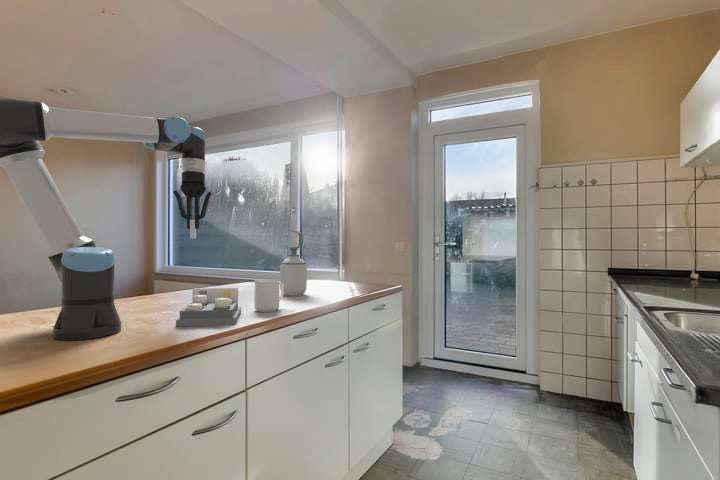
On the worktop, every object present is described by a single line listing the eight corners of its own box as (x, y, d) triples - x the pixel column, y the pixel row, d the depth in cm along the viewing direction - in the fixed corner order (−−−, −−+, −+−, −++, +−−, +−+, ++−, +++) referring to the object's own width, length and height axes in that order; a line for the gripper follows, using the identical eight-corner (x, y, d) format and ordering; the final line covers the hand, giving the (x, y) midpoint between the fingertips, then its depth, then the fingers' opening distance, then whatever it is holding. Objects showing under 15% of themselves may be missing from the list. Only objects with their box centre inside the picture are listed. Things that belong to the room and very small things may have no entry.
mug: (264, 313, 132) (264, 282, 132) (249, 310, 137) (249, 280, 137) (290, 308, 141) (290, 279, 141) (275, 306, 147) (275, 277, 147)
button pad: (175, 326, 111) (176, 296, 111) (189, 314, 129) (189, 288, 129) (235, 324, 115) (235, 294, 115) (241, 312, 133) (241, 287, 133)
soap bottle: (285, 292, 183) (285, 229, 183) (309, 293, 182) (310, 229, 182) (276, 296, 171) (276, 228, 171) (302, 297, 169) (302, 228, 169)
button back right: (217, 310, 123) (217, 300, 123) (219, 307, 127) (219, 298, 127) (231, 309, 124) (231, 300, 124) (232, 307, 128) (232, 298, 128)
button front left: (185, 315, 113) (185, 305, 113) (188, 313, 117) (188, 303, 117) (200, 315, 114) (200, 305, 114) (203, 312, 118) (203, 303, 118)
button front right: (213, 309, 115) (213, 300, 115) (215, 307, 119) (215, 298, 119) (228, 309, 116) (228, 299, 116) (229, 307, 120) (229, 297, 120)
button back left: (191, 306, 121) (191, 297, 121) (194, 304, 125) (194, 295, 125) (205, 305, 122) (205, 296, 122) (207, 303, 126) (207, 294, 126)
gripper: (170, 169, 128) (170, 238, 128) (211, 171, 131) (210, 238, 131) (176, 173, 136) (176, 238, 136) (214, 174, 138) (214, 238, 138)
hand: (193, 238), depth 133 cm, fingers closed
